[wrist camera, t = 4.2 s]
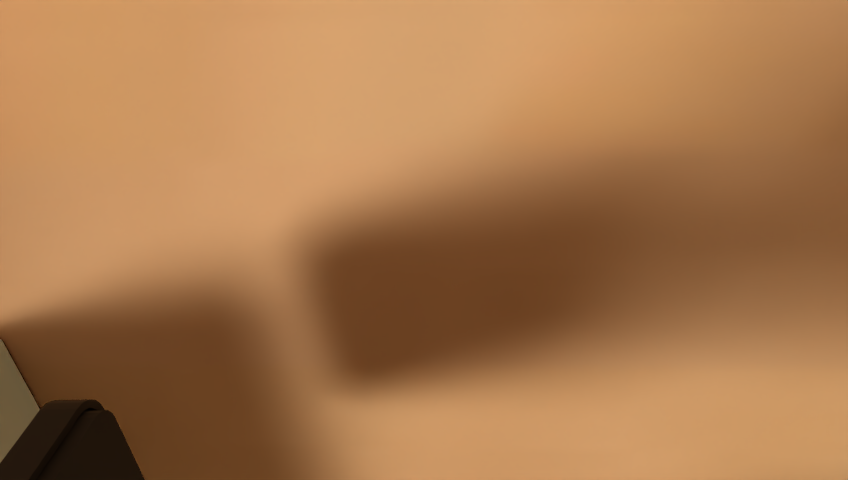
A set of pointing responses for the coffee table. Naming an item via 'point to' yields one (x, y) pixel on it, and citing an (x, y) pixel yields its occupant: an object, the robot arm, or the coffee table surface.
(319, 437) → the coffee table surface
